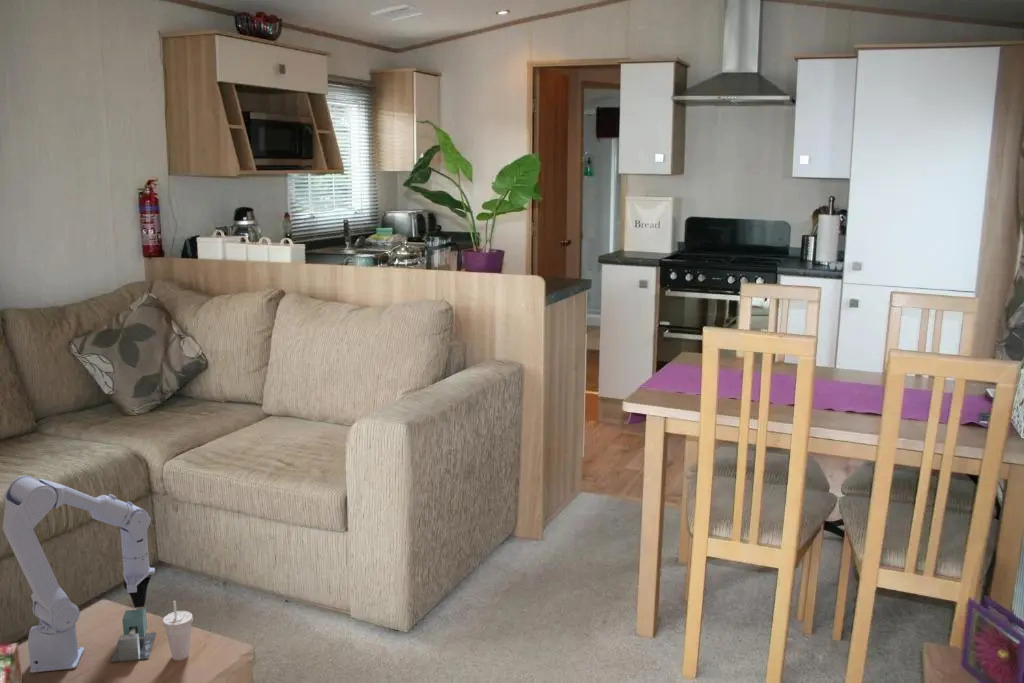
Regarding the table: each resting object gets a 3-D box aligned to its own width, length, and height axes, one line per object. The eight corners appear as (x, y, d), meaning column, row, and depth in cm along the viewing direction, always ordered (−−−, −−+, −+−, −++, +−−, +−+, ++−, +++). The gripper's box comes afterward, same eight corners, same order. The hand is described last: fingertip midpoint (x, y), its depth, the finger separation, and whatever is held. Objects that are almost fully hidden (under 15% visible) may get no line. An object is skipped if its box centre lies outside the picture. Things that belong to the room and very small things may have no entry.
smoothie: (159, 658, 203) (155, 603, 200) (181, 645, 208) (177, 590, 205) (179, 666, 200) (175, 610, 197) (201, 652, 206) (197, 597, 202)
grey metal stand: (110, 663, 201) (108, 641, 200) (120, 636, 212) (118, 615, 210) (148, 659, 203) (146, 637, 202) (156, 633, 213) (154, 612, 212)
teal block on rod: (124, 638, 207) (122, 619, 206) (127, 629, 211) (125, 610, 210) (144, 636, 208) (142, 617, 207) (147, 627, 212) (145, 608, 211)
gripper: (148, 566, 206) (152, 619, 209) (158, 539, 220) (162, 589, 223) (115, 569, 205) (120, 622, 208) (127, 541, 218) (132, 592, 221)
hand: (139, 605), depth 215 cm, fingers closed
